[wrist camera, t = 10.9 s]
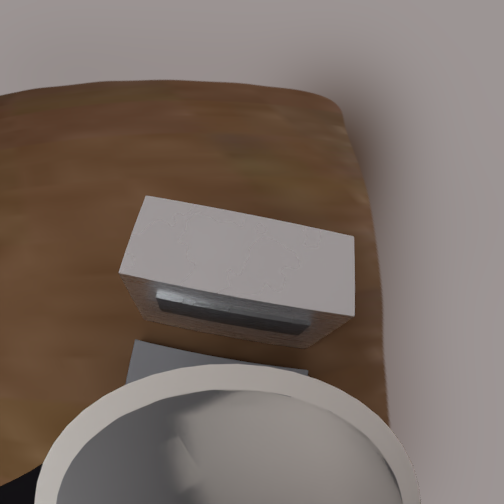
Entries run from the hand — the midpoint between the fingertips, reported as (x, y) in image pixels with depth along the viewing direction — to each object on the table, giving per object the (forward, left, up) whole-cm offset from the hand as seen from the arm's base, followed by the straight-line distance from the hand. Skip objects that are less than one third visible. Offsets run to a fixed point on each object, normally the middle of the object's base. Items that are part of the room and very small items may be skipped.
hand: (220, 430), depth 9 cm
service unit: (+4, -6, -9) cm, 11 cm away
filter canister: (-1, +1, -7) cm, 7 cm away
